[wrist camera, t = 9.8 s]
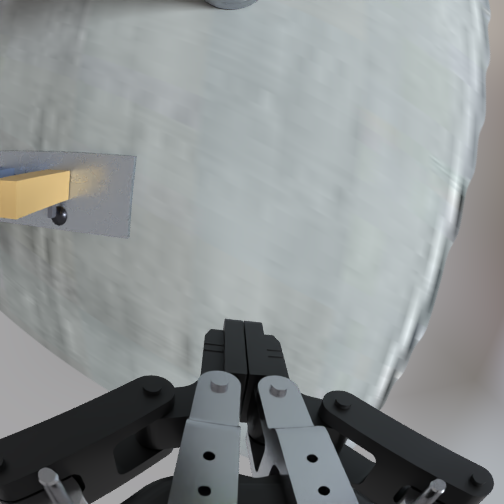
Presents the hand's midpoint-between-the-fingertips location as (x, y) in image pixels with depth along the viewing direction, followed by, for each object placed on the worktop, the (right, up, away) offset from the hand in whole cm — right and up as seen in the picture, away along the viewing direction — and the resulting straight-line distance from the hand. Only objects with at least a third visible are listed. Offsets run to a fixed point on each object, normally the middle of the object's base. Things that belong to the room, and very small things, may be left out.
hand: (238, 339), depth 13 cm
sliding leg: (-27, +12, +26) cm, 39 cm away
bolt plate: (-28, +13, +27) cm, 41 cm away
